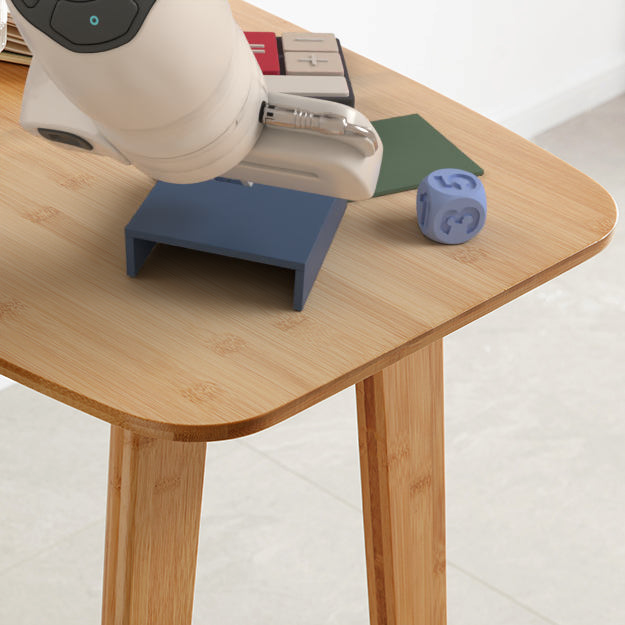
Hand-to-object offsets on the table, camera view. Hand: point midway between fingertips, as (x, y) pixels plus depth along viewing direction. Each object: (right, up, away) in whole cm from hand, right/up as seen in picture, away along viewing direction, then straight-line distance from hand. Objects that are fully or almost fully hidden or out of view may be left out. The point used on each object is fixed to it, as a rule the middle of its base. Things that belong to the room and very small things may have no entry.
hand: (233, 171), depth 73 cm
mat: (+5, +2, +15) cm, 16 cm away
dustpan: (-1, -6, -1) cm, 7 cm away
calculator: (+2, +9, +24) cm, 25 cm away
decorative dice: (+15, -3, +9) cm, 18 cm away
